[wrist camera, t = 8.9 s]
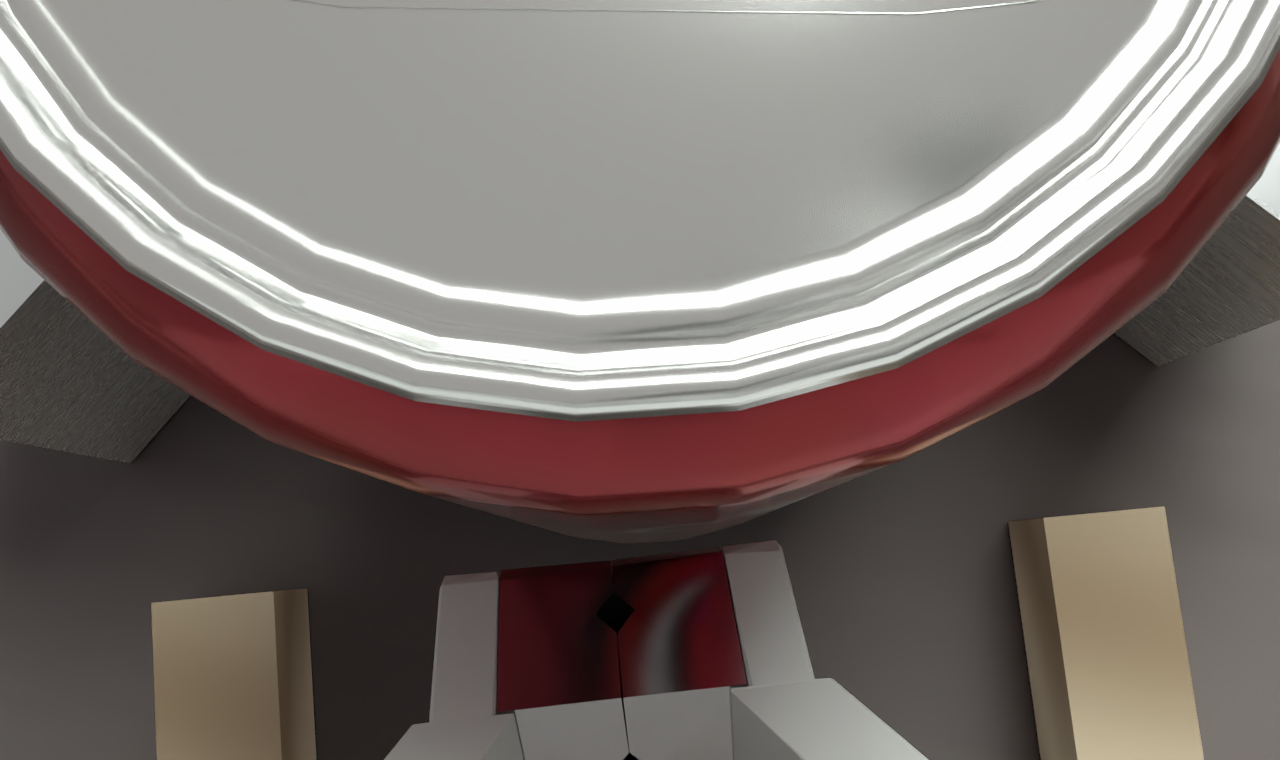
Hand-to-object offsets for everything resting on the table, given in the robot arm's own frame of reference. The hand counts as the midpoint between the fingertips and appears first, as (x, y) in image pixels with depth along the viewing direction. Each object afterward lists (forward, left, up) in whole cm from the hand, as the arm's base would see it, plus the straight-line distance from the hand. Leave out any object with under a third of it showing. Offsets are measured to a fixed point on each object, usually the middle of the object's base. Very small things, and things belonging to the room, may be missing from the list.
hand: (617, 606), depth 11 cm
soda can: (-3, -3, -6) cm, 7 cm away
